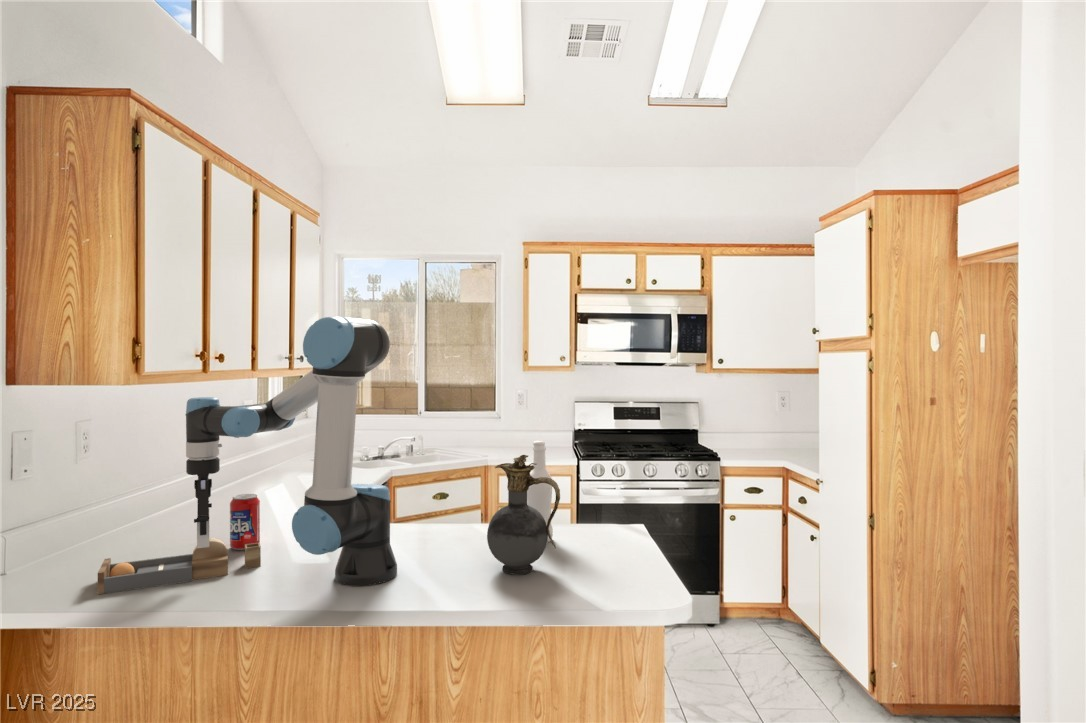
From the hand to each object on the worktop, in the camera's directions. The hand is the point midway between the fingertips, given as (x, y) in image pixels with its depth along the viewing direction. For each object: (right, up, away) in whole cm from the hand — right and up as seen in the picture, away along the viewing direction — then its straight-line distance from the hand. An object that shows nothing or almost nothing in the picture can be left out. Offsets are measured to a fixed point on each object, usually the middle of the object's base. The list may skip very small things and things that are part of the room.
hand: (203, 540), depth 163 cm
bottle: (+86, -8, +29) cm, 91 cm away
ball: (-15, -6, -8) cm, 18 cm away
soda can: (+1, -8, +21) cm, 22 cm away
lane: (-10, -8, -5) cm, 14 cm away
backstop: (-19, -8, -10) cm, 23 cm away
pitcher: (+82, -9, +2) cm, 83 cm away
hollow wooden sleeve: (+10, -8, +5) cm, 14 cm away
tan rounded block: (+1, -8, +1) cm, 8 cm away
